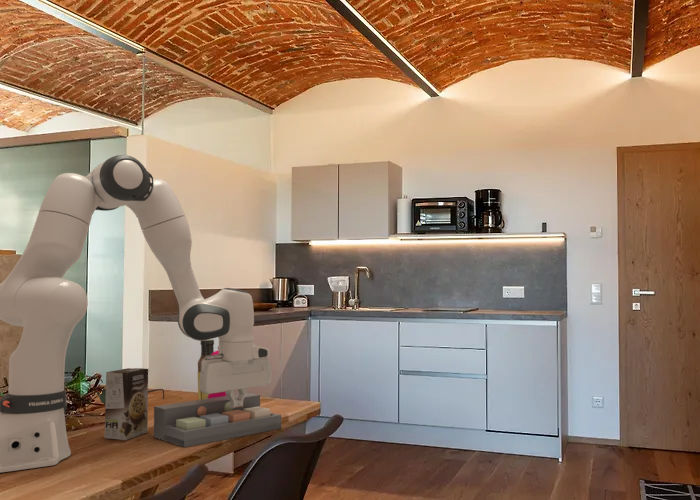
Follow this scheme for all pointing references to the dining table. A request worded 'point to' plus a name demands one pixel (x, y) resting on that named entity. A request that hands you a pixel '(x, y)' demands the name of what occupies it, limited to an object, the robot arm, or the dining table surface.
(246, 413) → the key terracotta
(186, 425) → the key sage
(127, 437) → the cookie box
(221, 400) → the keypad
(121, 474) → the dining table surface
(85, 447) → the dining table surface
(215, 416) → the key slate
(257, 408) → the key cream
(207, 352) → the sauce bottle
